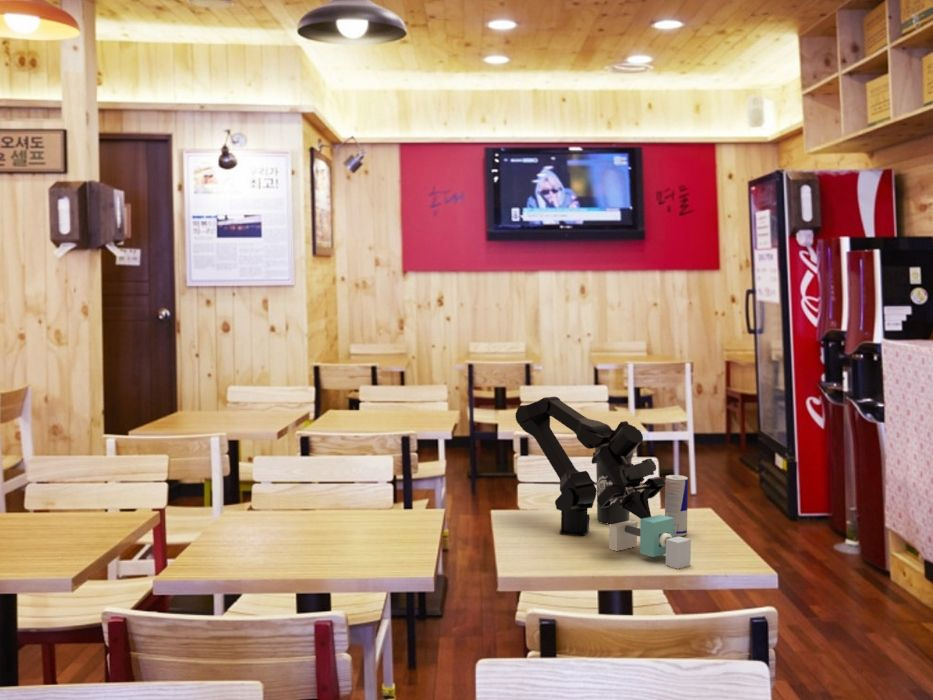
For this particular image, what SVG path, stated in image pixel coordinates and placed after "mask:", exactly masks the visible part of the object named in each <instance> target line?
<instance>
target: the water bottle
mask: <svg viewBox="0 0 933 700" xmlns="http://www.w3.org/2000/svg"><path fill="white" fill-rule="evenodd" d="M601 448H602V447H599V448H594V452H598V451H599V450H600V449H601ZM623 457H624V456H623ZM633 457H634V451H633V452H632V453H631V454H630V455H629V456H627V457H624V459H625V460H626V462H627V463H628V464H630V463H632V459H633ZM595 467H596V469H595V470H596V472H595V473H596V490H597V492H596V497H597V496H598V495H599V494H600V493H601V492H602V491H603V490H604V489H605V488H606V487H607V486H611V485H613V484H612V482H608V483H607V481H606V478H607V477H608V476H607V474H606V472H605V471H604V469H603V467H602V466H601V464H600V463H595ZM610 502H611V503H610V506H609V507H606V508H601V507H600V506H599V504H598V502H597V501H596V508H597V510H596V512H597V513H596V514H597V516H596V517H597V518H596V519H597V520H598V521H599V522H598V521H597V522H598V523H600V522H602V523H601V524H603V523H608V524H616V523H620V522H625V521H629V520H630V512H629V511H627V510H625V509H624V508H622V507H621V508H620V507H619V504H620V503H621V501H620V498H617V499H612V500H610ZM608 524H607V525H608Z"/></svg>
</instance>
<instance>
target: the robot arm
mask: <svg viewBox="0 0 933 700" xmlns="http://www.w3.org/2000/svg"><path fill="white" fill-rule="evenodd" d="M516 409H517V410H516V412H515V414H514V415H515V416H514V417H515V421H516V422H517V424H518V425H519V427H520V428H521V429H522V430H523V431H524V432H526V433H527V434H528V435H530V436H532V437H533V438H534V439H535V441H536V443H537V444H538V446H539V447H540V449H541V450H542V453H543V454H544V456H545V457H546V459H547V460H548V462H549V463H550V465H551V467H552V469H553V471H554V472H555V474H556V475H557V478H558V479H559V491H560V495H558V497H557V498H556V499H555V501H554V505H555V508H556V510H558V511H560V521H561V522H560V530H559V532H558V533H559V535H570V536H579V537H584V536H585V535H587V533H588V532H589V531H590V514H588V509H592V508H593V507H594V503H595V500H596V503H597V502H598V504H599V506H600V507H601V508H606V507H609V506H610V503H611V502H610V500H612V499H617V498H620V501H621V503H620V504H619V507H620V508H621V507H622V508H624V509H625V510H627V511H629V513H631V514H633V515H634V516H635V517H637V518H639V520H641V519H643V518H648V517H652V514H651V510H650V504H649V499H653V498H655V497H656V496H657V494H659V493H660V491H662V489H663V488H664V487H665V485H666V484H665V483H666V481H664V479H663V478H662V477H660V476H656V477H649V478H647V479H646V480H645V477H648V476H653V475H654V474H655V472H656V471H657V465H656V463H655V461H654V460H653V459H652V458H646V459H643V460H642V461H641V462H639V463H635V464H634V463H632V462H631V463H630V464H628V463H627V462H626V460H625V459H624V457H627V456H629V455H630V454H631V453H632V452H633V453H634V451H635V450H636V449H637V447H638V446H639V445H640V444H641V443H642V442H643V440H644V437H643V436H644V434H642V432H641V430H640V429H638V428H637V427H636V426H634V425H632V424H630V423H629V422H628V421H625V420H624V421H620V422H619V424H618V425H617V427H616V428H615V429H612V428H611V426H610V425H608V424H607V423H604V422H601V421H599V420H594V419H590V418H588V417H586V416H584V415H582V413H579V411H577V410H575V409H574V408H573V407H571V406H569V405H568V404H567V403H566V402H563V401H562V400H561V398H560V397H557V396H548V397H543V398H541V399H539V400H537V401H533V402H531V403H528V404H523V405H522V404H521V405H519V406H518V407H517V408H516ZM551 417H552V418H553V419H555V420H556V421H558V422H559V423H561V425H562V426H565V427H566V428H568V429H569V430H571V431H572V432H573V433H574V434H575V436H576V439H577V440H578V442H580V444H581V445H583V447H585V449H589V450H591V449H592V450H593V449H595V448H599V447H602V448H601V449H600V450H599V451H598V452H595V451H594V452H593V453H592V458H591V464H593V465H594V464H595V465H596V463H600V464H601V466H602V467H603V469H604V471H605V472H606V474H607V476H608V477H607V478H606V481H607V483H608V482H612V484H613V485H611V486H607V487H606V488H605V489H604V490H603V491H602V492H601V493H600V494H599V495H598V496H597V486H595V484H596V482H595V481H594V480H593V479H592V478H591V475H590V474H589V472H588V471H587V470H583V471H579V470H578V469H576V467H575V466H574V463H573V462H572V460H571V459H570V457H569V456H568V454H567V453H566V451H565V449H564V447H562V445H561V443H560V442H559V440H558V438H557V437H556V435H555V433H554V431H552V429H551ZM623 456H624V457H623ZM644 481H645V482H644ZM641 483H643V484H641Z"/></svg>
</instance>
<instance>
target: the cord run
mask: <svg viewBox="0 0 933 700" xmlns="http://www.w3.org/2000/svg"><path fill="white" fill-rule="evenodd" d="M608 537H609V540H608V541H609V542H608V545H609V547H608V549H609V550H610V549H612V550H611V551H613V550H615V551H614V552H616V551H618V552H620V551H619V550H622V551H624V550H623V549H626V550H628V549H627V548H630V549H633V548H632V547H634V548H637V547H638V537H640V527H638V522H637V521H633V520H630V519H629V521H625V522H620V523H616V524H611V525H609V534H608ZM659 544H660V545H661V546H662V547H666V554H665V566H666V565H668V566H667V567H669V566H670V567H671V568H673V569H676V568H677V569H676V570H679V568H680V569H683V568H687V567H690V566H691V558H692V557H691V555H692V551H691V550H692V549H691V548H692V540H691V539H690V538H686V537H684V536H678V537H675V536H674V538H672V536H671V535H670V534H668V533H662V534H661V535H660V534H659ZM636 546H637V547H636Z"/></svg>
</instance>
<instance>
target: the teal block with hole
mask: <svg viewBox="0 0 933 700" xmlns="http://www.w3.org/2000/svg"><path fill="white" fill-rule="evenodd" d="M639 523H640V527H639V529H640V536H639V553H640V554H642V555H645V556H648V557H651V558H655V557H659V556H662V555H666V547H662V546H661V545H660V544H659V534H660V535H661V534H662V533H668V534H670V535H671V536H672V538H674V537H675V536H674V518H672V517H668V516H665V514H658V515H654V516H652V515H651V517H648V518H643V519H640V522H639Z"/></svg>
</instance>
